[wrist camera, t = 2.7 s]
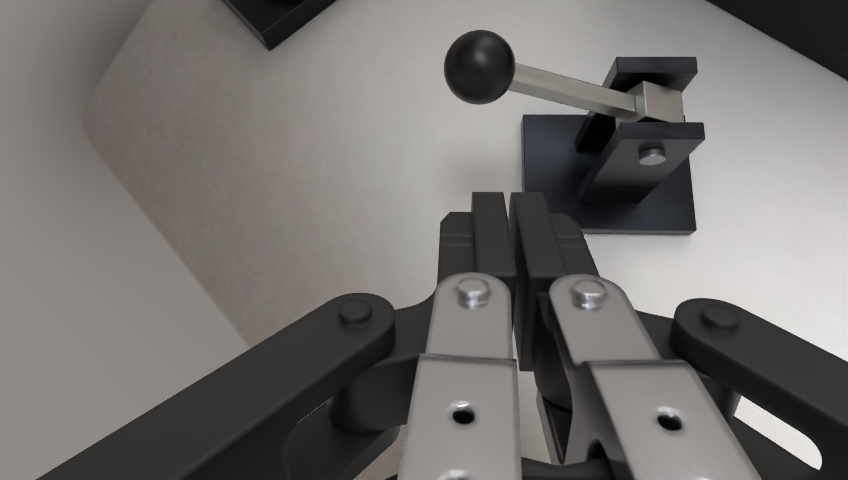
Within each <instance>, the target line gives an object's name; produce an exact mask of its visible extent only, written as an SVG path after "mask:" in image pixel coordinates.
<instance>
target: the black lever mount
mask: <svg viewBox="0 0 848 480" xmlns="http://www.w3.org/2000/svg"><path fill="white" fill-rule="evenodd" d="M697 73H698V70H697V61H696V57H616V59H615V61H614V63H613V65H612V67H611V69H610V71H609V73H608V75H607V77H606V79H605V81H604V83H603V85H602V87H606V88H609V89H613V90H616V91H620V92H624V93H625V92H627V91H628V90H630V89H631V88H633V87H634V86H636V85H638V84H639V83H641V82H642V81H647V82H650V83H653V84H657V85H660V86H664V87H667V88H671V89H674V90H678V91H681V93H682V92H683V91H684V89H685V88H686V87H687V85H688V84H689V83H690V82H691V80H692V79H693V78H694V76H695V75H696V74H697ZM521 130H522V182H523V193H543V194H544V197H545V200H546V203H547V206H548V209H549V213H566V214H567V215H568V216H570V217H571V218H572V219H573V220H575V221H576V222H577V223H578V224H579V225H580V228H581V230H582V233H597V234H669V235H690V234H692V233H693V232H695V231H696V221H695V211H694V201H693V192H692V182H691V172H690V162H689V154H690V153H691V152H692V151H693V150H694V149H695V148H696V147H697V146H698V145H699V144H701V143H702V142H703V141H704V140H705V133H704V124H703V122H685V115H684V122H621V123H620V124H619V126H618V127H617V129H616V120H615V117H613V116H609V115H605V114H601V113H597V112H593V111H589V113H588V115H523V118H522V121H521Z"/></svg>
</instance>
